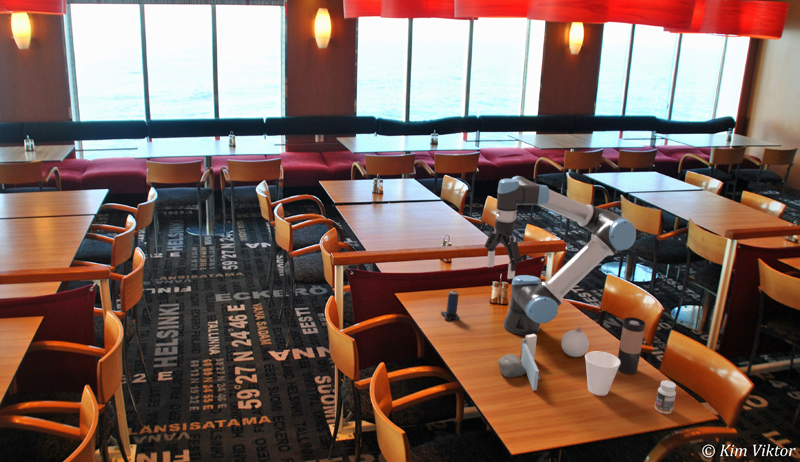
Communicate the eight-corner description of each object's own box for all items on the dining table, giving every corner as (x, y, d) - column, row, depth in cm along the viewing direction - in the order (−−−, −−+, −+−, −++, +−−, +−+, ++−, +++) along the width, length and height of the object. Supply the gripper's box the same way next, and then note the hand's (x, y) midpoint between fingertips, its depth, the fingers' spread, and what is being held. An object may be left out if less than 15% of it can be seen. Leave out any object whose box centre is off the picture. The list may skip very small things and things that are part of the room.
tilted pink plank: (531, 357, 243) (534, 333, 240) (534, 359, 242) (537, 335, 239) (523, 359, 241) (525, 335, 238) (525, 361, 240) (528, 337, 237)
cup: (610, 403, 214) (615, 370, 210) (576, 392, 220) (580, 360, 216) (619, 388, 223) (624, 357, 220) (586, 378, 229) (590, 347, 226)
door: (519, 358, 241) (521, 338, 238) (526, 358, 241) (528, 338, 238) (532, 390, 219) (535, 368, 216) (540, 390, 219) (542, 368, 216)
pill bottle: (651, 405, 214) (656, 379, 211) (667, 405, 214) (672, 379, 211) (659, 414, 208) (664, 388, 206) (675, 414, 209) (680, 388, 206)
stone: (532, 377, 228) (522, 356, 225) (510, 389, 228) (501, 368, 224) (521, 365, 237) (512, 345, 233) (501, 377, 236) (491, 356, 232)
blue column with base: (462, 319, 274) (464, 294, 270) (446, 322, 271) (448, 296, 267) (453, 311, 282) (455, 286, 278) (437, 313, 279) (439, 288, 275)
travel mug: (637, 367, 239) (645, 319, 233) (637, 376, 232) (645, 327, 226) (616, 363, 241) (623, 315, 236) (615, 372, 234) (623, 323, 229)
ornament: (588, 352, 249) (592, 325, 245) (584, 363, 240) (588, 335, 236) (562, 346, 253) (566, 319, 249) (557, 357, 244) (561, 329, 240)
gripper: (478, 212, 247) (474, 263, 253) (517, 229, 226) (511, 284, 232) (494, 210, 250) (490, 261, 256) (533, 227, 229) (528, 282, 235)
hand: (500, 272), depth 244 cm, fingers open, 13 cm apart
